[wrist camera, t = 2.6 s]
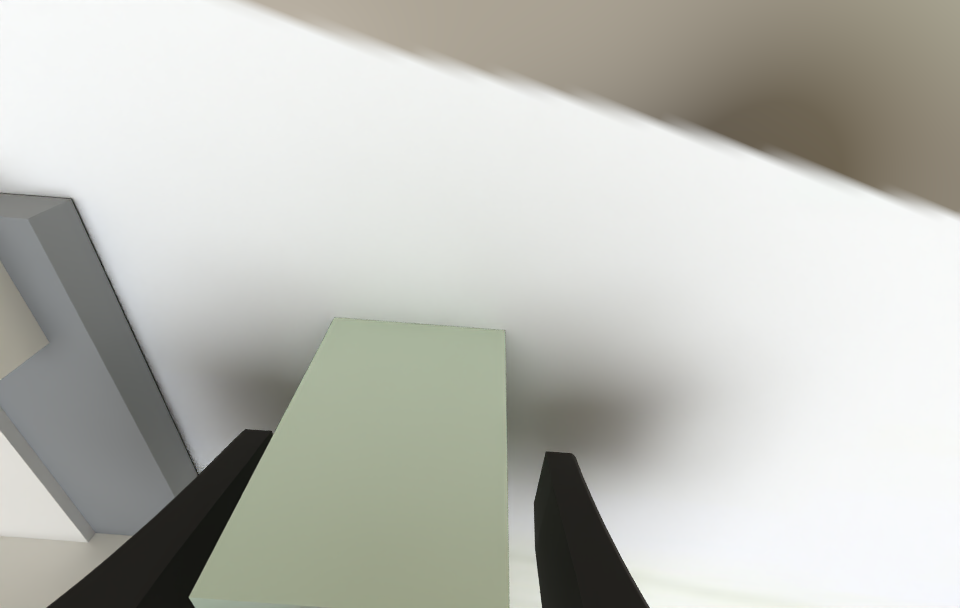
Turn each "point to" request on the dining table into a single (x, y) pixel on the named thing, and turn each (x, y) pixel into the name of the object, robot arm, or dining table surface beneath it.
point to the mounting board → (78, 393)
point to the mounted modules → (26, 561)
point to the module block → (378, 480)
